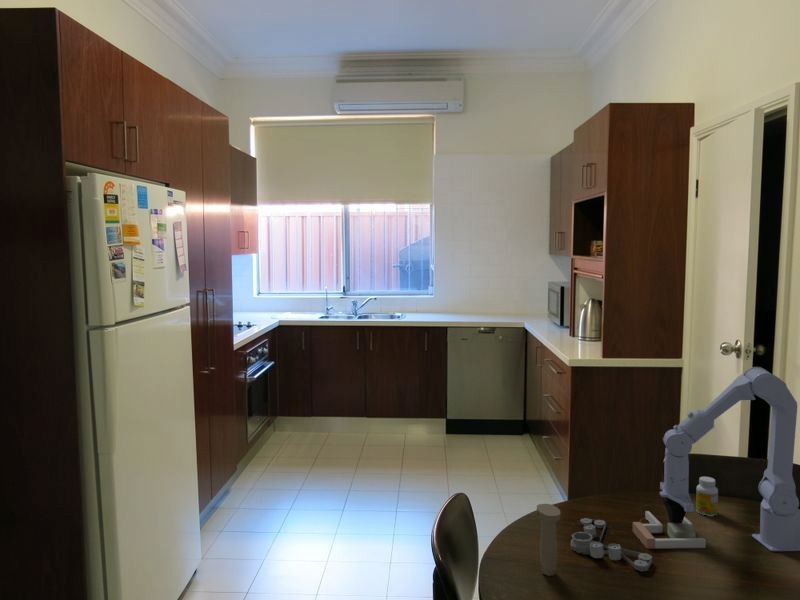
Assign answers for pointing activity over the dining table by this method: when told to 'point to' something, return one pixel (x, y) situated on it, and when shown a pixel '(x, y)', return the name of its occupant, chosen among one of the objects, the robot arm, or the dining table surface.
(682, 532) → the block
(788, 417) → the robot arm
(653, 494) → the dining table surface
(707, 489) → the supplement bottle
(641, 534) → the block
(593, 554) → the pulley system
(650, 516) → the channel
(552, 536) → the handle
